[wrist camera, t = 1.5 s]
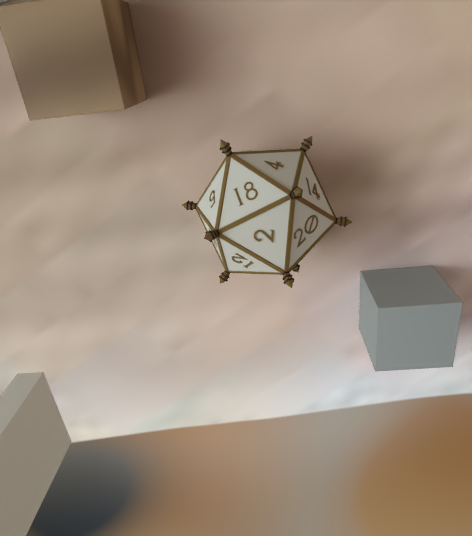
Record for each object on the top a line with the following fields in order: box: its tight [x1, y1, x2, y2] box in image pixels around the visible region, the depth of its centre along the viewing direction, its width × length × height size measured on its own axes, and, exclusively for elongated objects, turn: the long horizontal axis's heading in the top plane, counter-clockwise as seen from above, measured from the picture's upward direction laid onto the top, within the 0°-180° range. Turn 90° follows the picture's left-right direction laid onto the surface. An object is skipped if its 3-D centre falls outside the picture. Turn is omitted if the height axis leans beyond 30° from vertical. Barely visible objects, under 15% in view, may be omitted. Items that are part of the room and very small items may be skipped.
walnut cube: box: [0, 0, 147, 120], centre depth 22 cm, size 5×5×5 cm
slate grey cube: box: [359, 266, 463, 371], centre depth 29 cm, size 5×5×5 cm
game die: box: [182, 136, 352, 288], centre depth 24 cm, size 9×8×10 cm
